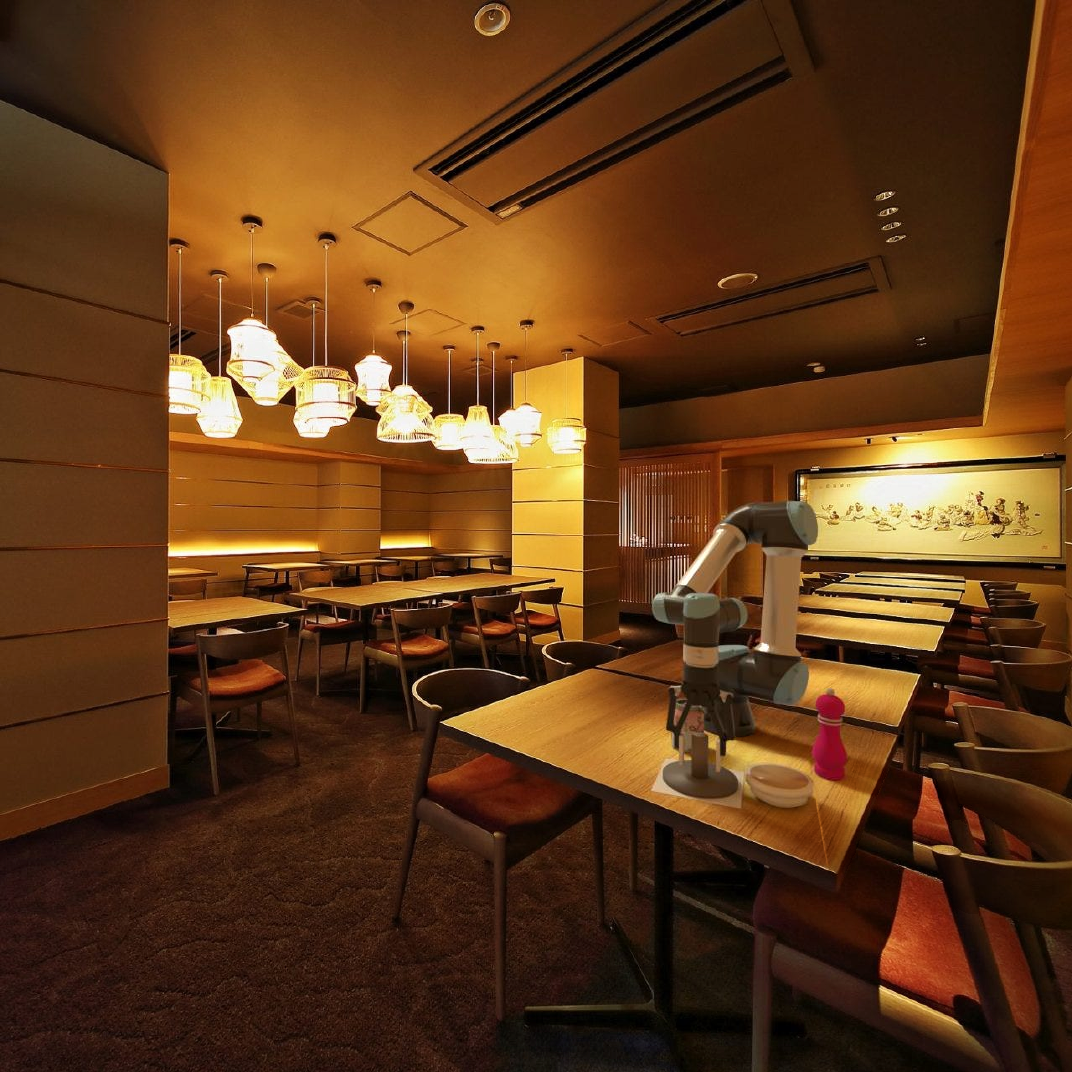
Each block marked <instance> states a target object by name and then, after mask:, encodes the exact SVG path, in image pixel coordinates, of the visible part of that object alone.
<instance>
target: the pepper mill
mask: <svg viewBox="0 0 1072 1072" xmlns="http://www.w3.org/2000/svg"><path fill="white" fill-rule="evenodd" d="M835 693H836V692H835V689H833V688H831V687H828V688H827V689H826V690H825V693H824V694H822V695H819V696H818V697H817V698H816V700H815V709H816V711H817V712H818V715H817V721H818V723H819V732H818V736H817V738H816V739H815V740H814V743H813V745H812V748H811V749H812V750H811V751H812V752H811V756H812V758H813V759H814V761H815V763H814V765H813V772H814V774H815V775H817V776H819V777H820V778H822V779H826V780H829V781H830V780H831V781H841V780H844V779H845V778H846V777H845V776H846V770H845V767H844V766H846V764H847V763H848V754H847V750H846V748H845V745H844V743H843V740H842V736H841V726H842V725H843V717H842V716H843V715H844V714H845V711H846V706H845V703H844V701H843V699H842V698H840V697H839V696H837V695H835Z"/></svg>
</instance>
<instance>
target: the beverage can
mask: <svg viewBox="0 0 1072 1072" xmlns="http://www.w3.org/2000/svg"><path fill="white" fill-rule="evenodd" d="M686 703H687V699H686V698H677V702H676V709H675V716H674V723H673V725H675V726H677V724H678V721H679V719H680V717H681V714H682V712H683V710H684V707H685V705H686ZM706 713H707V711H706V710H705V709H704V708H703V707H702V706H693V705H692V706H691V708H690V710H689V713H688V715H687V717H686V720H685V722H684V724H683V727H682V729H681V732H684V754H685V753H687V754H691V747H692V733H695V732H701V733H705V729H704V715H706ZM670 733H671V736H670V737H671V740H670V742H671V743H670V745H671V747H672V748H673V749H674V750H676V751H678V752H679V749H676V748H675V747H674V733H673V732H671V731H670Z"/></svg>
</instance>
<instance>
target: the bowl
mask: <svg viewBox="0 0 1072 1072" xmlns="http://www.w3.org/2000/svg"><path fill="white" fill-rule="evenodd" d="M744 772H745V773H744V781H745V782H746V783H747V785H748V786H749V789H750V792H751V793H752V795H753V796H754V797H756V798H758V799H759V800H761V801H763V802H764V803H767V804H768V805H770V806H774V807H778V808H784V809H785V808H787V809H788V808H789V809H790V808H795V807H801V806H804V805H806V804H807V803H808V802H809V797H810V796H812V795H813V794H814V791H815V789H814V787H815V786H814V785H815V782H814V780H813V778H812V777H810V775H809V774H807V773H806V772H803V771H802V770H800V769H797V768H795V767H792V766H788V765H784V764H780V763H779V764H778V763H773V762H772V763H771V762H759V763H754V764H750V765H749V766H747V767H746V768H745V770H744Z"/></svg>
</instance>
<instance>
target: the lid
mask: <svg viewBox="0 0 1072 1072" xmlns="http://www.w3.org/2000/svg"><path fill="white" fill-rule="evenodd" d="M709 737H710V736H709V734H707V733H705V732H704V733H701V732H695V733H692V747H691V753H690V754H691V758H690V759H684V763H683V765H682V766H681V765H679V761H676V762H672V763H670V764H668V765H666V766H665V767H664V769H663V780H664V782H665V783H666V784H667V785H668V786H669V787H670V788H672V789H673V790H675V791H677V792H680V793H682V794H685V795H688V796H692V797H697V798H705V799H718V798H725V797H728V796H731V795H733V794H734V793H735V792H736V791H737V789H738V779H737V777H736V776H735V775H734V774H733V773H732V772H731V771H729V770H728V769H729V768H726V767H723V766H722V765H721V768H720V772H716V763H714V762H713V763H712V762H709V739H710V738H709Z"/></svg>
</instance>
